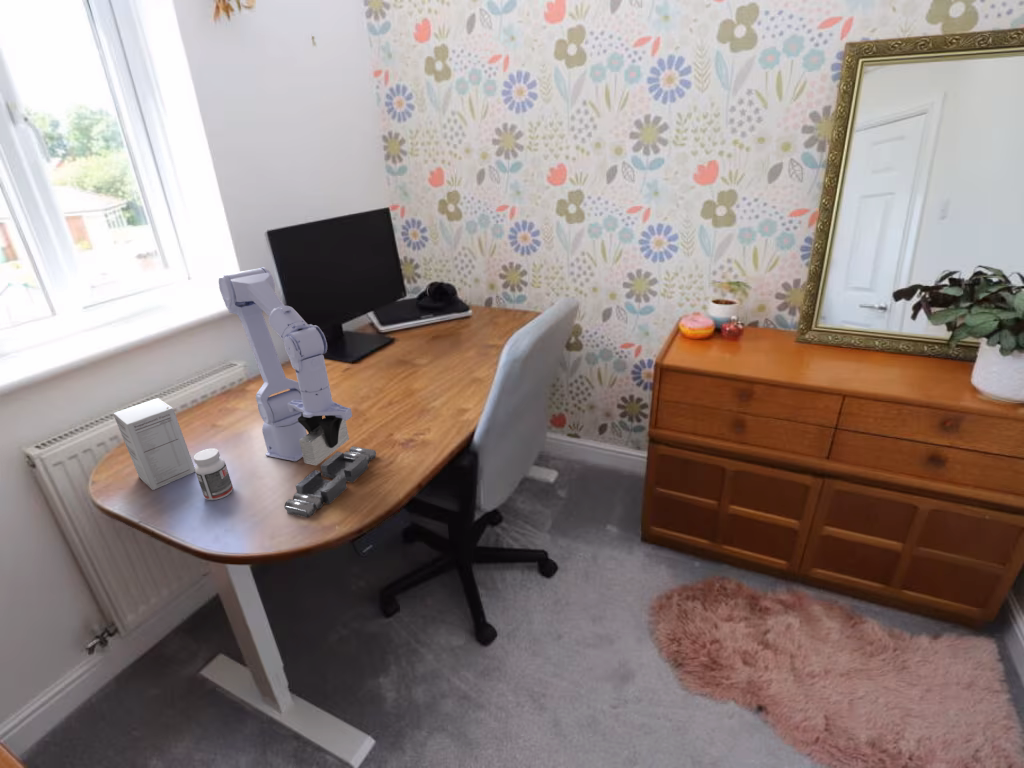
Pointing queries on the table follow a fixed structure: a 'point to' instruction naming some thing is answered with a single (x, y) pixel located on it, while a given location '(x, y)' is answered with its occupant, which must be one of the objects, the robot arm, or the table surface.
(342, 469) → the chain end
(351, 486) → the table surface
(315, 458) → the pale grey rectangular prism
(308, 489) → the chain end
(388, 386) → the table surface
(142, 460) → the supplement box
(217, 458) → the pill bottle
